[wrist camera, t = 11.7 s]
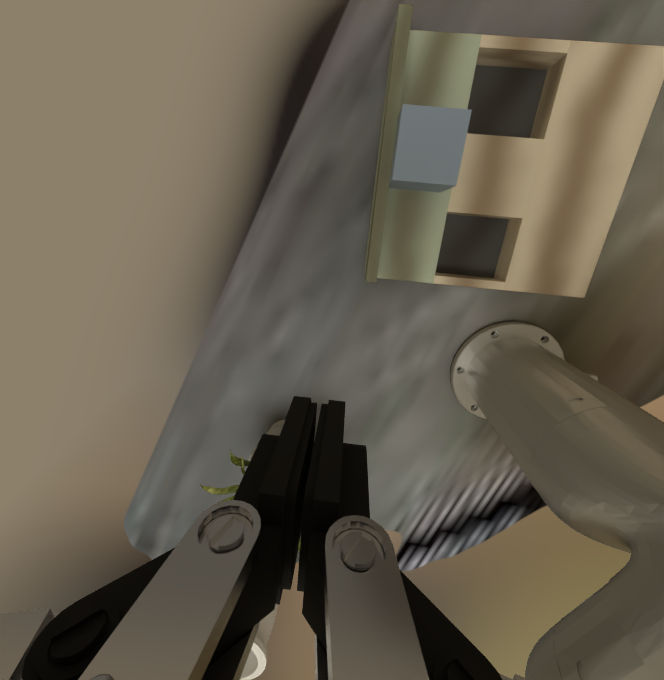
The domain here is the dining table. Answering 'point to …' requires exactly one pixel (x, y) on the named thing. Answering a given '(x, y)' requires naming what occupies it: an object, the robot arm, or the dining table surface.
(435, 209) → the board
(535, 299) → the dining table surface
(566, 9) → the dining table surface
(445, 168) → the block
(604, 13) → the dining table surface
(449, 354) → the dining table surface
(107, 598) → the robot arm
